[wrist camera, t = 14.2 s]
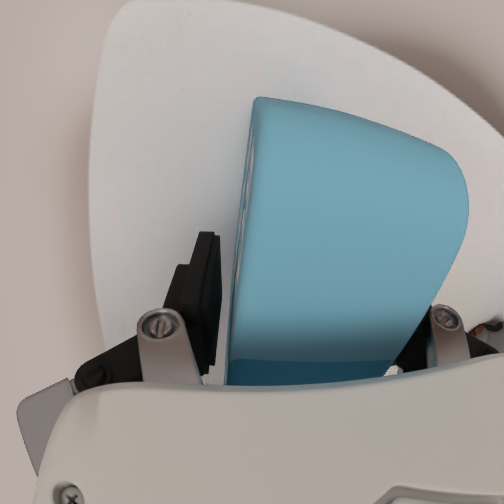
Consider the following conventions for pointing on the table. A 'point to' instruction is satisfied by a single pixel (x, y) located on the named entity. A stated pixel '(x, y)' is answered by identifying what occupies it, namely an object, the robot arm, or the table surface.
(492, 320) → the table surface
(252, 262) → the blue rounded block
